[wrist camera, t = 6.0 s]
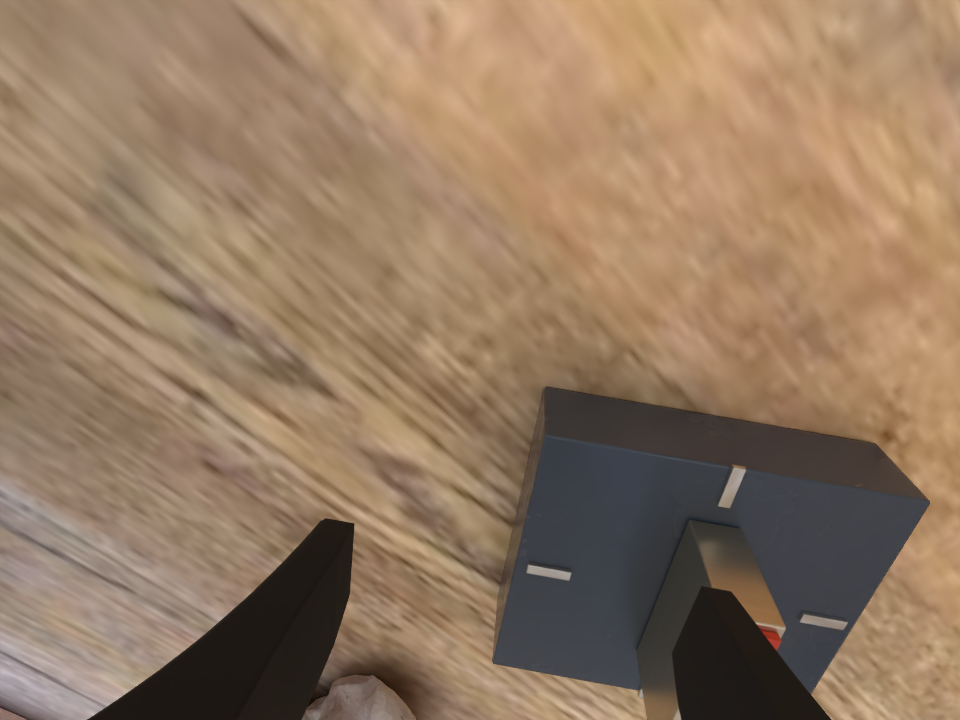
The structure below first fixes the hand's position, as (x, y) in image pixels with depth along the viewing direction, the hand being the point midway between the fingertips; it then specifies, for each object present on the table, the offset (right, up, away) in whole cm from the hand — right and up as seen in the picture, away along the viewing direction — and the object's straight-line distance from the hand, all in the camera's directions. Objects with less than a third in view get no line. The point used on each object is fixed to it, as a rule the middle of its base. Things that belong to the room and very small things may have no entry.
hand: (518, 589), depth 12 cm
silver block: (+6, -3, +7) cm, 9 cm away
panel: (+6, -1, +9) cm, 11 cm away
